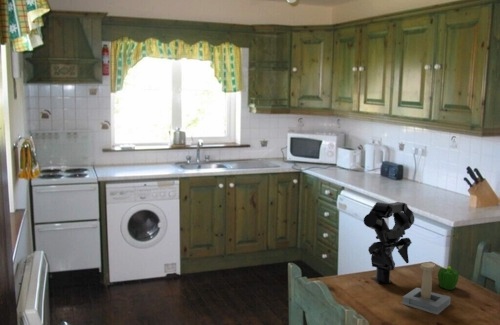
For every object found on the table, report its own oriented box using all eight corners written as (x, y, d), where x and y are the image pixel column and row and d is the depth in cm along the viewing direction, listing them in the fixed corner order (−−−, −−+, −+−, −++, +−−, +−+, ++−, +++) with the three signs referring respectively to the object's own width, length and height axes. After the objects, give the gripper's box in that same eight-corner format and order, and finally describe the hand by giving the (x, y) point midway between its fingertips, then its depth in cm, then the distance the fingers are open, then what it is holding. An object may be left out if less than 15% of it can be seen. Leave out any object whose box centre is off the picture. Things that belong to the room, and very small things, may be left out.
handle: (435, 301, 200) (437, 264, 198) (426, 305, 196) (429, 268, 194) (424, 297, 204) (426, 261, 202) (415, 301, 200) (418, 265, 198)
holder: (402, 303, 200) (402, 296, 199) (416, 294, 209) (416, 287, 209) (437, 314, 190) (437, 307, 190) (450, 304, 200) (450, 296, 200)
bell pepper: (438, 282, 222) (440, 260, 221) (458, 286, 218) (460, 264, 217) (435, 289, 215) (436, 266, 214) (455, 293, 211) (457, 270, 210)
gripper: (374, 223, 203) (391, 258, 195) (410, 218, 211) (427, 252, 203) (361, 237, 212) (376, 271, 203) (396, 232, 220) (412, 264, 211)
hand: (399, 264), depth 205 cm, fingers open, 9 cm apart
